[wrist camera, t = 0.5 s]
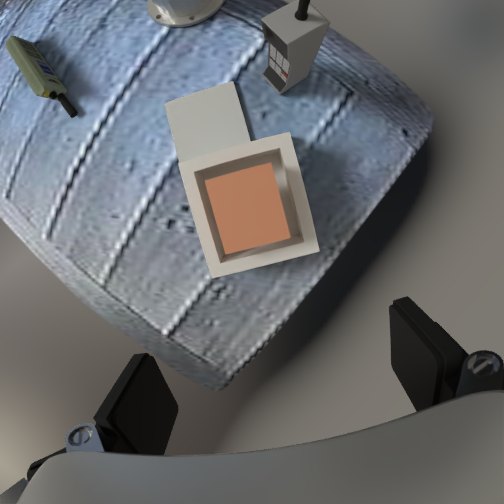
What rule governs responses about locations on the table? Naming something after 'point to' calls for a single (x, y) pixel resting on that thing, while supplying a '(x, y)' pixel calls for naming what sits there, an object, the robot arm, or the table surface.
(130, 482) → the robot arm
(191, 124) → the light gray square panel
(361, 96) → the table surface
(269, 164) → the button
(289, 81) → the vintage mobile phone
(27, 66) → the handheld radio
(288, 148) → the frame
